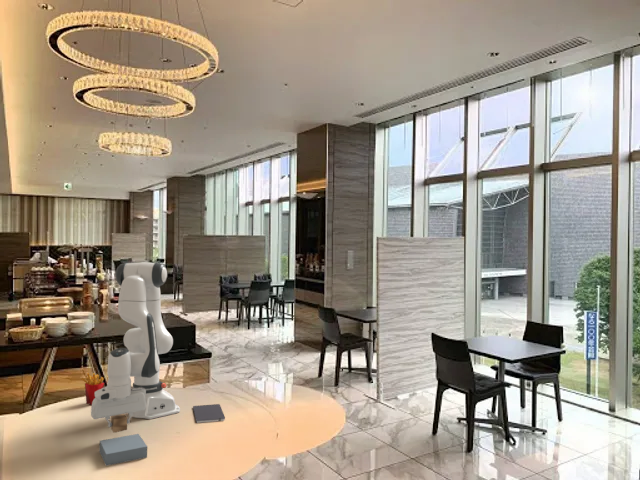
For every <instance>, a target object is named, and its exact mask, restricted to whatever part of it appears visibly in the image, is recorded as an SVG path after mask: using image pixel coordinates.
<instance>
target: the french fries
mask: <svg viewBox="0 0 640 480" xmlns="http://www.w3.org/2000/svg"><path fill="white" fill-rule="evenodd" d="M86 374H87V377H86V379H85V378H83V377H81V380H82V381H83V382H84V389H85V402H86V404H87V405H89V406H91V407H92V402H93V400H94V399H95V392H96V391H97V390H100V389H102V388H104V387H105V386H104V385H105V382H103V381H104V380H105V379H104V377H103V376H101V377H100V375H99V374H98V373H97V374H96V372H94V373H92V375H90V372H87V373H86Z"/></svg>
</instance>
